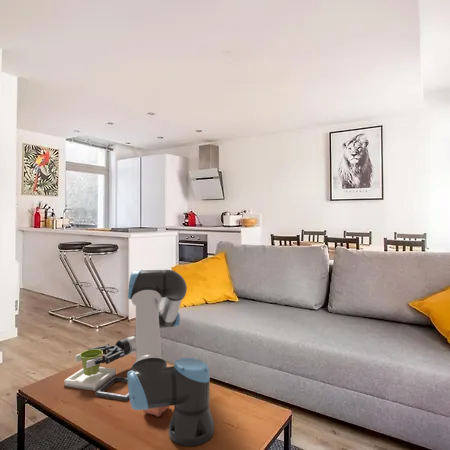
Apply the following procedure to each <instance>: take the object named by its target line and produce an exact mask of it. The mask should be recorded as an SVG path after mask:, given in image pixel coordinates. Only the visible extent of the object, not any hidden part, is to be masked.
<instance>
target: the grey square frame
mask: <svg viewBox="0 0 450 450" xmlns="http://www.w3.org/2000/svg"><path fill="white" fill-rule="evenodd" d="M115 382H120V383H126V384H128V381H127V377H121V376H116V375H115V376H113V377H112V378H111V379H109V380H108V381H107V382H106V383H104V384H103V385H102V386H101V387H99V388H98V389H97V390H96V391H94V392H95V397H99V398H106V399H107V398H108V399H113V400H120V401H124V402H125V401H128V400H130V399H129V392H128V393H126V394H119V393H113V392H105V391H106V390H107V389H108V388H109V387H111V386H112V385H113V384H114V383H115Z"/></svg>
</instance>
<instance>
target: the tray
mask: <svg viewBox="0 0 450 450" xmlns="http://www.w3.org/2000/svg"><path fill="white" fill-rule="evenodd" d="M116 372H117V370H116V368H111V367H110V368H109V367H103V366H100V367H99V372H98V373H97V374H95V375H94V374H93V375H91V376H87V375H85V374H84V370H83V367H82V368H81V369H80V370H77V371H76V372H75V373H72V375H70V376H68V377H67V378H65V379H64V386H65V387H68V388H69V387H70V388H75V389H81V390H82V389H83V390H90V391H94V392H96V391H97V390H99V389H100V388H101V387H102V386H104V385H105V384H106V383H107V382H109V381H110V380H111V379H112V378H114V377H115V376H116V375H117V373H116Z"/></svg>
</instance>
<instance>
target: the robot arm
mask: <svg viewBox="0 0 450 450" xmlns="http://www.w3.org/2000/svg"><path fill="white" fill-rule="evenodd" d="M187 289H188V287H187V283H186V280H185V279H184V277H183V276H182V275H181V274H180V273H178V272H177V271H175V270H171V269H148V270H147V269H141V270H134V271H131V274H130V276H129V282H128V288H127V291H128V292H127V298H128V300H130V301H131V303H132V304H133V306H135V332H134V333H135V335H133V336H128V337H126V338H122V339H120V340H117V341H116V343H115V345H114V344H112V345H110V343H106V344H103V345H100V346H94V347H90V348H88V349H87V350H91V349H99V350H102V351H103V354H102V356H101V357H98V358H95V359H92V360H89V361H86V368H89V367H92V366H95V365H97V364H100V365H101V364H106V365H108V364H111V363H112V362H114V361H116V360H118V359H120V358H124V357H125V356H128V355H129V354H130V355H132V354H133V353H135V352H136V353H135V354H136V355H135V358H136V359H135V360H136V361H134V363H133V364H132V365H131V370H129V371H127V373H126V378H127V381H128V383H127V390H128V393H129V399H128V400H129V404H130V407H131V409H132V410H134V411H143V410H144V409H145V410H148V409H151V408H158V407H165V406H169V407H170V406H173V407H174V409H173V412H172V416H171V418H170V421H169V424H168V436H169V438H170V440H171V441H172V442H174V443H175V444H177V445H180V446H184V447H195V446H200V445H202V444H205V443H207V442H208V441H210V439H211V438H212V437H213V435H214V433H215V422H214V419H213V415H212V413H211V409H210V380H211V377H210V368H209V366H208V364H207V363H206V362H205V361H202V360H200V359H197V358H194V357H182V358H180V359H177V360H175V363H174V364H173V366H168V365H167V360H166V359H165V358H164V357H162V345H161V343H162V341H161V330H160V329H163V328H174V327H175V328H176V327H179V326H180V324H181V323H180V322H181V316H180V313H179V310H180V306H181V303H182V301H183V300H184V298H185V296H186V294H187V291H188V290H187ZM162 299H164V301H163V302H164V303H163V307H162V312H159V304H160V303H161V301H162ZM80 354H81V353H79V354H75V362H80V361H82V359H81V357H80Z"/></svg>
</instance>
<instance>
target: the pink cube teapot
mask: <svg viewBox="0 0 450 450" xmlns="http://www.w3.org/2000/svg"><path fill="white" fill-rule="evenodd" d="M168 408H170V406H165V407H158V408H151V409H148V410H145V409H144V410H142V412H143V413H146V414H148V415H153V416H155V417H160V416H162V414H163V413H164V412H166V411H167V409H168Z"/></svg>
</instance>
